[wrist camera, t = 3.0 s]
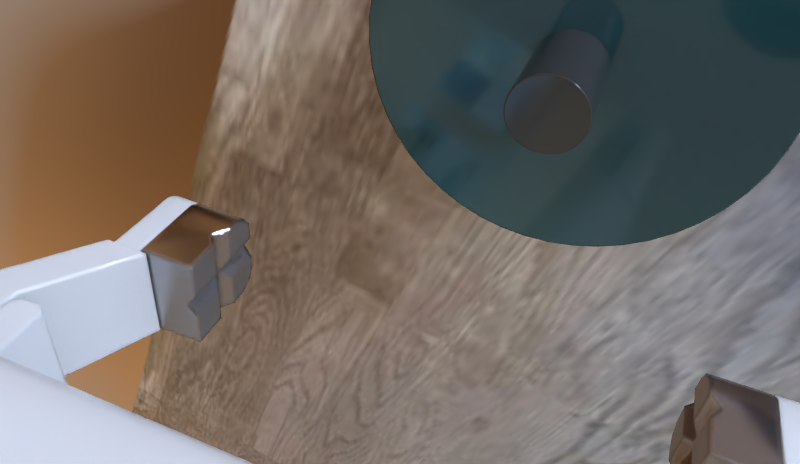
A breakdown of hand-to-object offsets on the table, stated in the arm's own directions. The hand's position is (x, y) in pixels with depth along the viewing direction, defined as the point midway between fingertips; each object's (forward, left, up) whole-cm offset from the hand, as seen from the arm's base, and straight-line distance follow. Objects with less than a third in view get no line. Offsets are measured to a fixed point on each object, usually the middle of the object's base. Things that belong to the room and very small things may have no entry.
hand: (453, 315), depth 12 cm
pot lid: (0, 0, -13) cm, 13 cm away
